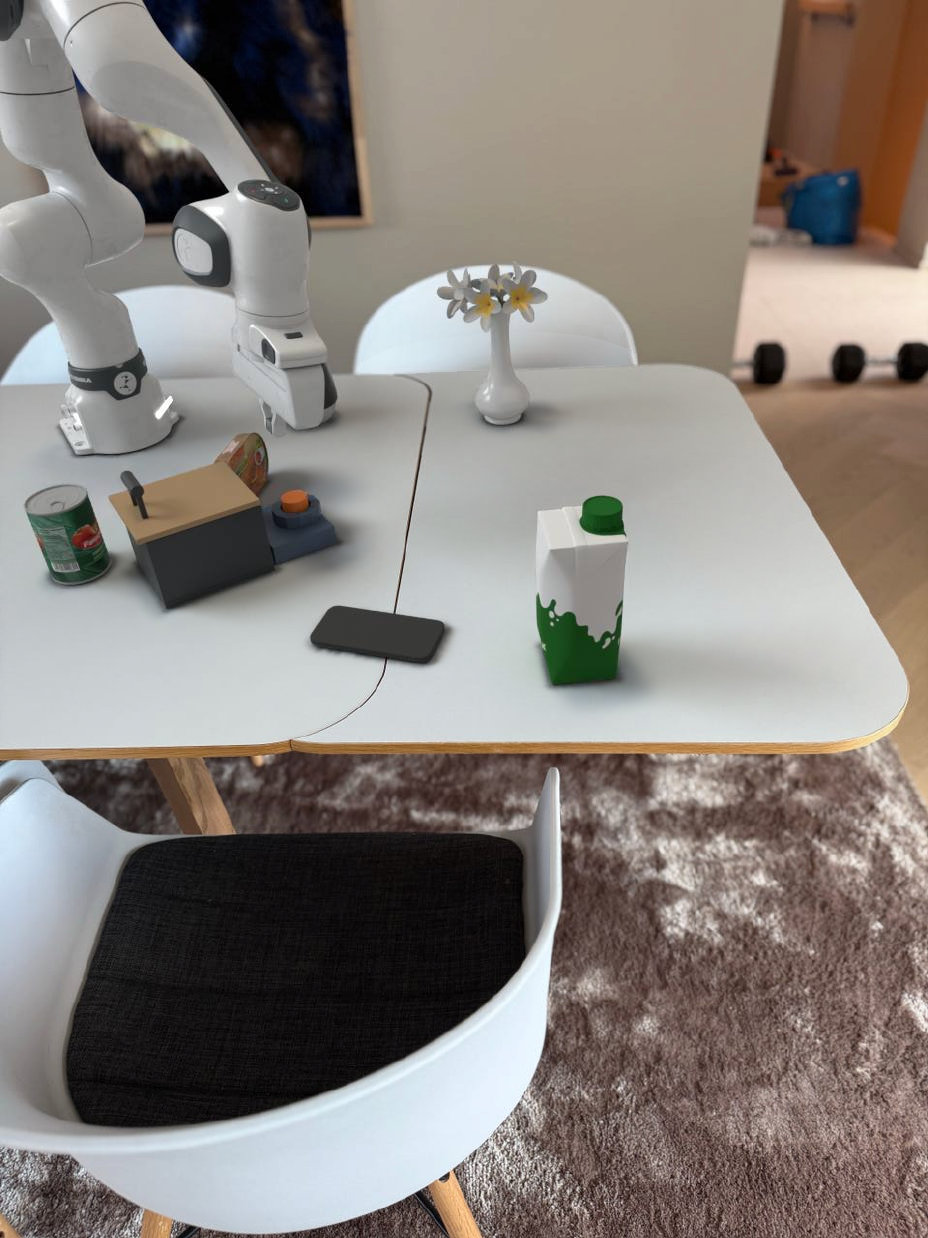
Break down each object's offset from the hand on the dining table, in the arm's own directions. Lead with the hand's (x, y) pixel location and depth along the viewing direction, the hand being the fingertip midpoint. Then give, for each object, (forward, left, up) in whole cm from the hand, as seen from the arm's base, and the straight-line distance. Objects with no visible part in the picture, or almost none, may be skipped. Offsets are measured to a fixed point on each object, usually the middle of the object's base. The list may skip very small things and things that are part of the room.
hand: (275, 432), depth 120 cm
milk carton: (+48, +6, -15) cm, 51 cm away
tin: (-14, 0, -15) cm, 21 cm away
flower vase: (-5, +44, -15) cm, 47 cm away
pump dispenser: (-29, +22, -15) cm, 40 cm away
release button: (+1, 0, -11) cm, 11 cm away
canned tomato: (-13, -26, -15) cm, 33 cm away
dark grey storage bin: (-1, -14, -15) cm, 20 cm away
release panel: (+1, -1, -15) cm, 15 cm away
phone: (+28, -7, -15) cm, 33 cm away
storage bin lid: (-1, -14, -5) cm, 15 cm away
